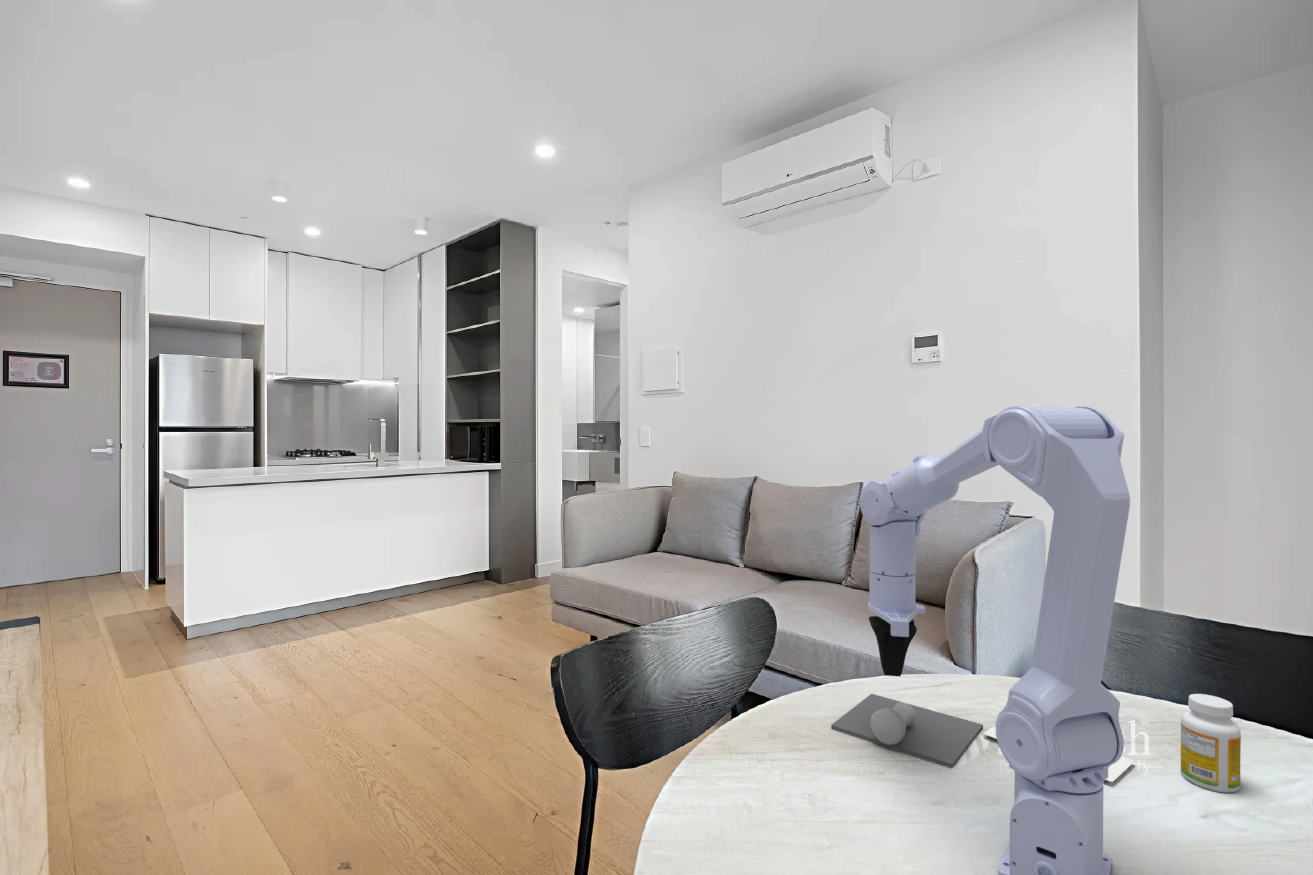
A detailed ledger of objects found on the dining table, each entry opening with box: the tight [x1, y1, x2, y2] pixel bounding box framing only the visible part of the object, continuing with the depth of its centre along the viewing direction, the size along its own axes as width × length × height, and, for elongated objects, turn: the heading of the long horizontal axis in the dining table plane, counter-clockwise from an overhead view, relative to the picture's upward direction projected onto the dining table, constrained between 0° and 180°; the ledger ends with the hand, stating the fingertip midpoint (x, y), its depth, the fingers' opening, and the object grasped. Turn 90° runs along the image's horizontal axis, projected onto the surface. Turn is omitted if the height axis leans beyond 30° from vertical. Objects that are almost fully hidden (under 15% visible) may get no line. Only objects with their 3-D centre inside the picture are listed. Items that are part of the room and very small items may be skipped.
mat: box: [830, 693, 984, 769], centre depth 90 cm, size 14×16×1 cm
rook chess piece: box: [870, 701, 916, 745], centre depth 87 cm, size 4×4×8 cm
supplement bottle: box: [1180, 693, 1242, 794], centre depth 76 cm, size 5×5×10 cm
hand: (891, 674), depth 85 cm, fingers closed
